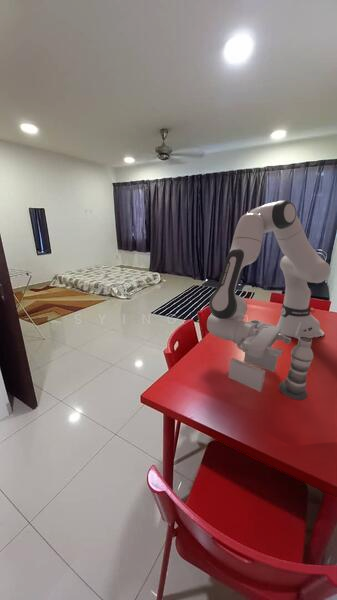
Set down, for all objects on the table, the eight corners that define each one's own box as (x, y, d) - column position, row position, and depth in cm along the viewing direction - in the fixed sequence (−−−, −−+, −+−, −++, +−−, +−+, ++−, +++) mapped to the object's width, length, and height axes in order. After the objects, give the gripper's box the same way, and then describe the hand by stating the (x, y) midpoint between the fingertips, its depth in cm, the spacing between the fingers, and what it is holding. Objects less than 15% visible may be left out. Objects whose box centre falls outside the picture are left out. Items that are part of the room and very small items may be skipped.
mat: (297, 381, 89) (297, 380, 89) (313, 399, 80) (313, 398, 80) (274, 382, 88) (274, 381, 88) (287, 400, 80) (287, 400, 79)
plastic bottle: (301, 384, 86) (313, 335, 79) (306, 398, 80) (320, 345, 73) (282, 382, 88) (292, 333, 81) (285, 395, 82) (297, 343, 75)
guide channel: (228, 377, 91) (230, 360, 88) (246, 358, 102) (248, 343, 99) (260, 391, 83) (263, 373, 81) (275, 369, 95) (278, 353, 92)
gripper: (235, 338, 82) (277, 352, 73) (258, 317, 96) (295, 327, 88) (233, 354, 84) (275, 369, 75) (256, 331, 98) (292, 342, 90)
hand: (286, 347), depth 82 cm, fingers open, 8 cm apart
